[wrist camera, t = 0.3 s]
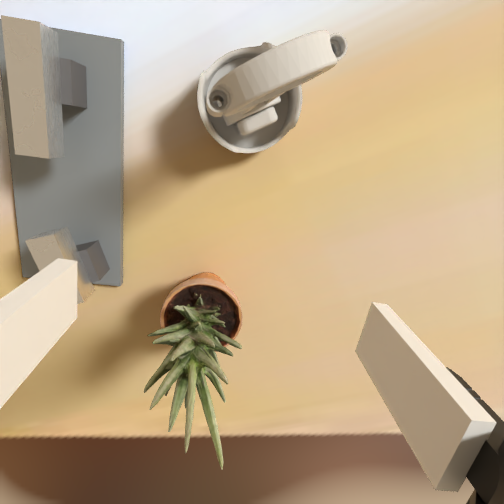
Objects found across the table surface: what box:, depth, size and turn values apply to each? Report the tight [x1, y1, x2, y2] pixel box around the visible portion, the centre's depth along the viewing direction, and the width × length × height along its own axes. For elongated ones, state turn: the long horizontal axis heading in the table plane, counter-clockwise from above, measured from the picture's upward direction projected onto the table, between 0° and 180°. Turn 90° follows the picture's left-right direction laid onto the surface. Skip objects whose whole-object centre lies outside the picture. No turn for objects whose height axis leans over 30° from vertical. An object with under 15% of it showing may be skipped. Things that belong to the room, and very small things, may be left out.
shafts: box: [1, 15, 95, 304], centre depth 33 cm, size 27×6×3 cm, turn 172°
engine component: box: [197, 30, 347, 153], centre depth 27 cm, size 11×20×10 cm
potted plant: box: [144, 273, 242, 469], centre depth 33 cm, size 10×10×25 cm
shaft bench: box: [0, 19, 124, 286], centre depth 36 cm, size 28×12×4 cm, turn 172°
